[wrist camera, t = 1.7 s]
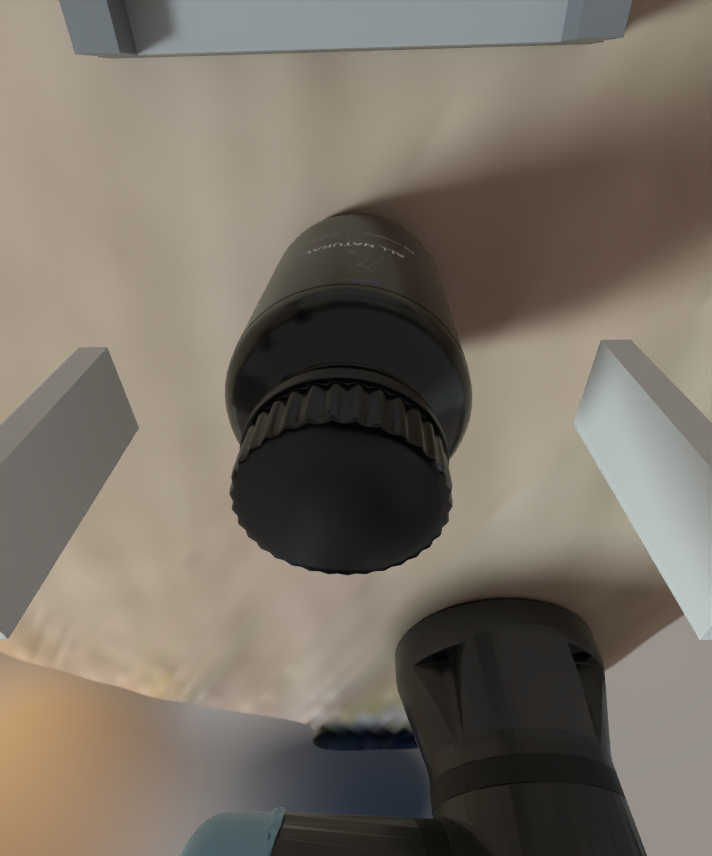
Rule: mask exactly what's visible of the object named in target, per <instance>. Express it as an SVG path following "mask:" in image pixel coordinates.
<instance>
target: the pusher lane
mask: <svg viewBox="0 0 712 856" xmlns="http://www.w3.org/2000/svg"><path fill="white" fill-rule="evenodd" d="M59 1H60V5H61V8H62V11H63V15H64V18H65V21H66V25H67V28H68V31H69V35H70V38H71V41H72V45H73V48H74V51H75V54H81V55H92V56H98V57H102V58H142V57H174V56H207V55H240V54H273V53H306V52H339V51H372V50H405V49H438V48H471V47H504V46H537V45H570V44H592V43H599V42H603V41H604V40H609V39H616V38H622V37H624V33H625V29H626V25H627V21H628V16H629V12H630V8H631V4H632V0H59Z"/></svg>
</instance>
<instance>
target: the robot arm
mask: <svg viewBox="0 0 712 856" xmlns="http://www.w3.org/2000/svg"><path fill="white" fill-rule="evenodd" d="M573 424H574V426H575V427H576V429H577V431H578V433H579V434H580V436H581V438H582V439H583V441H584V443H585V445H586V446H587V448H588V450H589V451H590V453H591V455H592V457H593V458H594V460H595V462H596V463H597V465H598V467H599V469H600V470H601V472H602V474H603V475H604V477H605V479H606V481H607V482H608V484H609V486H610V487H611V489H612V491H613V493H614V494H615V496H616V498H617V499H618V501H619V503H620V505H621V506H622V508H623V510H624V511H625V513H626V515H627V517H628V518H629V520H630V522H631V523H632V525H633V527H634V529H635V530H636V532H637V534H638V535H639V537H640V539H641V541H642V542H643V544H644V546H645V547H646V549H647V551H648V553H649V554H650V556H651V558H652V559H653V561H654V563H655V565H656V566H657V568H658V570H659V571H660V573H661V575H662V577H663V578H664V580H665V582H666V583H667V585H668V587H669V589H670V590H671V592H672V594H673V595H674V597H675V599H676V601H677V602H678V604H679V606H680V607H681V609H682V611H683V613H684V614H685V616H686V618H687V619H688V621H689V623H690V625H691V626H692V628H693V629H694V631H695V633H696V635H697V637H698V638H699V640H712V423H711V422H710V421H709V420H708V419H707V418H706V417H705V416H704V415H703V414H702V413H701V412H700V411H699V410H698V408H697V407H696V406H695V405H694V404H693V403H692V402H691V401H690V400H689V399H688V398H687V397H686V396H685V395H684V394H683V393H682V392H681V391H680V390H679V389H678V388H677V387H676V386H675V385H674V384H673V383H672V382H671V381H670V380H669V379H668V378H667V377H666V376H665V374H664V373H663V372H662V371H661V370H660V369H659V368H658V367H657V366H656V365H655V364H654V363H653V362H652V361H651V360H650V359H649V358H648V357H647V356H646V355H645V354H644V353H643V352H642V351H641V350H640V349H639V348H638V347H637V346H636V345H635V344H634V343H633V342H632V340H601V342H600V345H599V348H598V351H597V354H596V357H595V360H594V363H593V366H592V369H591V372H590V375H589V378H588V381H587V384H586V387H585V390H584V393H583V396H582V399H581V402H580V405H579V408H578V411H577V414H576V417H575V420H574V423H573ZM138 429H139V427H138V425H137V422H136V419H135V417H134V414H133V412H132V409H131V407H130V404H129V402H128V399H127V397H126V394H125V392H124V389H123V386H122V384H121V381H120V379H119V376H118V374H117V371H116V369H115V366H114V364H113V361H112V358H111V356H110V353H109V351H108V348H107V347H91V348H78V349H77V350H76V351H75V352H74V353H73V354H72V355H71V356H70V357H69V358H68V359H67V360H66V361H65V362H64V363H63V364H62V365H61V366H60V367H59V368H58V369H57V370H56V371H55V372H54V373H53V374H52V375H51V376H50V377H49V378H48V379H47V380H46V381H45V382H44V383H43V384H42V385H41V386H40V387H39V388H38V389H37V390H36V391H35V392H34V393H33V394H32V395H31V396H30V397H29V398H28V399H27V400H26V401H25V402H24V403H23V404H22V405H21V406H20V407H19V408H18V409H17V410H16V411H15V412H14V413H13V414H12V415H11V416H10V417H9V418H8V419H7V420H6V421H5V422H4V423H3V424H2V425H1V426H0V639H8V638H9V637H10V635H11V633H12V632H13V630H14V628H15V627H16V625H17V624H18V622H19V620H20V619H21V617H22V616H23V614H24V612H25V611H26V609H27V608H28V606H29V604H30V603H31V601H32V599H33V598H34V596H35V595H36V593H37V591H38V590H39V588H40V587H41V585H42V583H43V582H44V580H45V579H46V577H47V575H48V574H49V572H50V570H51V569H52V567H53V566H54V564H55V562H56V561H57V559H58V558H59V556H60V554H61V553H62V551H63V550H64V548H65V546H66V545H67V543H68V541H69V540H70V538H71V537H72V535H73V533H74V532H75V530H76V529H77V527H78V525H79V524H80V522H81V520H82V519H83V517H84V516H85V514H86V512H87V511H88V509H89V508H90V506H91V504H92V503H93V501H94V500H95V498H96V496H97V495H98V493H99V491H100V490H101V488H102V487H103V485H104V483H105V482H106V480H107V479H108V477H109V475H110V474H111V472H112V471H113V469H114V467H115V466H116V464H117V462H118V461H119V459H120V458H121V456H122V454H123V453H124V451H125V450H126V448H127V446H128V445H129V443H130V442H131V440H132V438H133V437H134V435H135V433H136V432H137V430H138ZM395 666H396V683H397V688H398V692H399V695H400V698H401V701H402V703H403V706H404V709H405V712H406V714H407V717H408V720H409V723H410V725H411V728H412V731H413V734H414V736H415V739H416V742H417V745H418V747H419V750H420V753H421V755H422V758H423V761H424V764H425V767H426V769H427V774H428V778H429V787H430V798H431V808H432V819H426V818H410V817H387V816H365V815H342V814H320V813H296V812H285V808H284V807H277V808H276V809H274V810H273V811H269V812H227V813H220V814H218V815H215V816H213V817H211V818H209V819H208V820H206V821H205V822H204V823H203V824H202V825H201V826H200V827H199V828H198V829H197V830H196V832H195V833H194V834H193V835H192V836H191V838H190V839H189V841H188V843H187V844H186V846H185V848H184V850H183V852H182V854H181V856H647V854H646V852H645V849H644V846H643V844H642V841H641V838H640V836H639V833H638V830H637V828H636V825H635V822H634V819H633V817H632V814H631V812H630V809H629V806H628V804H627V801H626V798H625V796H624V793H623V790H622V788H621V785H620V782H619V779H618V776H617V773H616V771H615V768H614V765H613V762H612V757H611V752H610V739H609V727H608V713H607V699H606V686H605V673H604V665H603V661H602V658H601V655H600V652H599V650H598V648H597V645H596V643H595V640H594V638H593V635H592V633H591V631H590V629H589V627H588V626H587V625H586V623H585V622H584V621H583V620H582V619H580V618H579V617H578V616H576V615H575V614H573V613H571V612H569V611H567V610H565V609H563V608H560V607H557V606H554V605H550V604H547V603H542V602H536V601H529V600H514V599H504V600H488V601H480V602H474V603H469V604H464V605H460V606H457V607H453V608H450V609H447V610H444V611H441V612H439V613H436V614H434V615H432V616H430V617H428V618H426V619H424V620H423V621H421V622H419V623H418V624H416V625H415V626H414V627H412V628H411V629H410V630H409V631H408V632H407V633H406V634H405V635H404V636H403V637H402V639H401V640H400V642H399V643H398V646H397V648H396V652H395Z"/></svg>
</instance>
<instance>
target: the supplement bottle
mask: <svg viewBox="0 0 712 856" xmlns="http://www.w3.org/2000/svg"><path fill="white" fill-rule="evenodd" d="M225 401H226V409H227V414H228V418H229V421H230V424H231V427H232V430H233V432H234V434H235V437H236V439H237V441H238V442H239V444H240V451H239V454H238V456H237V459H236V462H235V465H234V468H233V471H232V483H231V487H230V496H231V498H232V500H233V504H232V510H233V511H234V513H236V515H237V516H238V524H239V525H240V526H242V527H243V528H244V529H245V530H246V533H247V535H248V537H249V538H251V539H253V540H254V541H256V542H257V544H258V545H259V547H260V548H261V549H264V550H266V551H268V552H270V553H271V554H272V555H273V556H274V557H275V558H278V559H281V560H285V561H286V562H288V563H289V564H291V565H293V566H299V567H303V568H305V569H307V570H309V571H320V572H323V573H326V574H336V573H338V574H343V575H351V574H356V573H357V574H368V573H371V572H373V571H385V570H386V569H388V568H390V567H392V566H398V565H402V564H403V563H404V562H405V561H406V560H408V559H412V558H415V557H417V556H418V555H419V554H420V552H421V551H422V550H424V549H427V548H429V547H430V546H431V544H432V542H433V540H434V539H436V538H437V537H439V536H440V535H441V532H442V527H443V526H444V525H446V524H447V522H448V521H449V511H450V509H451V508H452V503H453V502H452V494H451V491H452V482H451V476H450V471H449V460H450V459H451V457H452V456H453V454H454V453H455V452H456V450H457V448H458V446H459V445H460V443H461V441H462V439H463V437H464V434H465V432H466V430H467V426H468V423H469V420H470V414H471V408H472V386H471V381H470V375H469V370H468V366H467V363H466V360H465V356H464V353H463V350H462V347H461V344H460V341H459V338H458V335H457V332H456V329H455V326H454V323H453V320H452V317H451V313H450V310H449V307H448V304H447V301H446V298H445V295H444V292H443V289H442V286H441V283H440V280H439V277H438V275H437V272H436V269H435V267H434V265H433V262H432V260H431V259H430V257H429V255H428V253H427V252H426V251H425V249H424V248H423V246H422V245H421V244H420V243H419V242H418V240H417V239H416V238H415V237H413V236H412V235H411V234H410V233H409V232H408V231H406V230H405V229H403V228H402V227H400V226H399V225H397V224H395V223H393V222H391V221H389V220H386V219H383V218H380V217H376V216H372V215H365V214H346V215H340V216H335V217H332V218H328V219H325V220H323V221H321V222H319V223H317V224H315V225H313V226H311V227H310V228H308V229H307V230H306V231H304V232H303V233H302V234H301V235H300V236H299V237H297V238H296V239H295V241H294V242H293V243H292V244H291V245H290V246H289V248H288V249H287V251H286V252H285V253H284V255H283V257H282V259H281V260H280V262H279V264H278V266H277V267H276V269H275V271H274V273H273V275H272V277H271V279H270V281H269V283H268V285H267V287H266V289H265V291H264V293H263V295H262V297H261V299H260V301H259V302H258V304H257V306H256V308H255V310H254V312H253V314H252V316H251V318H250V320H249V322H248V324H247V326H246V328H245V330H244V332H243V334H242V336H241V338H240V340H239V342H238V344H237V346H236V348H235V351H234V353H233V356H232V358H231V361H230V364H229V368H228V371H227V377H226V383H225Z"/></svg>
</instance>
